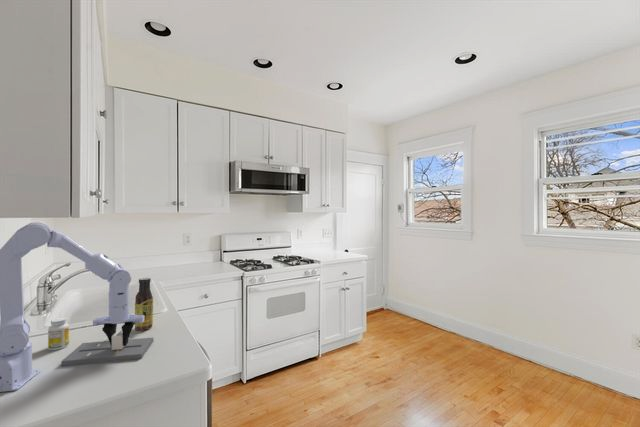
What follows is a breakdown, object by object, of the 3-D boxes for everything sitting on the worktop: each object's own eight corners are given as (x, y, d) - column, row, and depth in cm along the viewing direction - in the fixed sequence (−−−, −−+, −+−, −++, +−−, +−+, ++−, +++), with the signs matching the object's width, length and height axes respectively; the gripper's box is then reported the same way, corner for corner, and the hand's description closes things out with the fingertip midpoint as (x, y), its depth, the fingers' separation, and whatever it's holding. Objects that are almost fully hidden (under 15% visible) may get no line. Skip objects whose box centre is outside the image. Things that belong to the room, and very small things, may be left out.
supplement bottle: (53, 352, 99) (53, 323, 99) (45, 348, 101) (44, 320, 101) (72, 345, 104) (72, 318, 104) (63, 342, 106) (63, 315, 106)
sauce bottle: (144, 332, 115) (144, 281, 114) (130, 330, 116) (130, 280, 115) (157, 325, 121) (156, 277, 120) (143, 324, 122) (143, 276, 122)
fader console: (141, 358, 96) (141, 353, 96) (61, 366, 91) (61, 360, 91) (153, 341, 108) (153, 337, 107) (82, 347, 102) (82, 342, 102)
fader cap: (122, 349, 98) (121, 335, 98) (111, 350, 97) (111, 335, 97) (126, 343, 102) (126, 330, 102) (116, 344, 101) (116, 330, 101)
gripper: (147, 299, 105) (147, 337, 105) (100, 302, 101) (100, 341, 102) (140, 306, 98) (140, 347, 98) (89, 309, 95) (89, 351, 95)
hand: (119, 344), depth 100 cm, fingers closed on fader cap, 3 cm apart
